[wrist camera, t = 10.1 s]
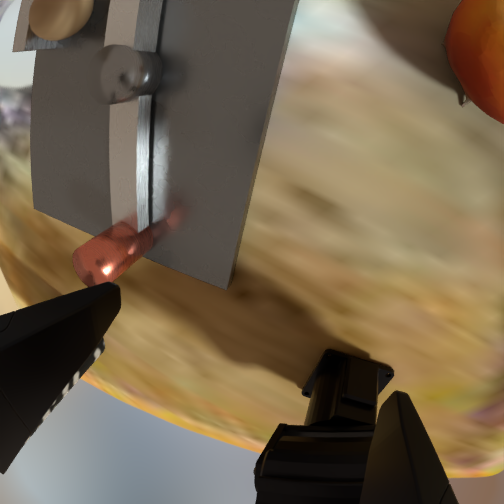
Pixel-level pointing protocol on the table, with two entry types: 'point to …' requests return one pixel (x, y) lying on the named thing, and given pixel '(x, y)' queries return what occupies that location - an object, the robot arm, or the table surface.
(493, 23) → the fruit
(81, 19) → the wooden ball
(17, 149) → the table surface
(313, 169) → the table surface
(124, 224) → the lever
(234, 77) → the base
